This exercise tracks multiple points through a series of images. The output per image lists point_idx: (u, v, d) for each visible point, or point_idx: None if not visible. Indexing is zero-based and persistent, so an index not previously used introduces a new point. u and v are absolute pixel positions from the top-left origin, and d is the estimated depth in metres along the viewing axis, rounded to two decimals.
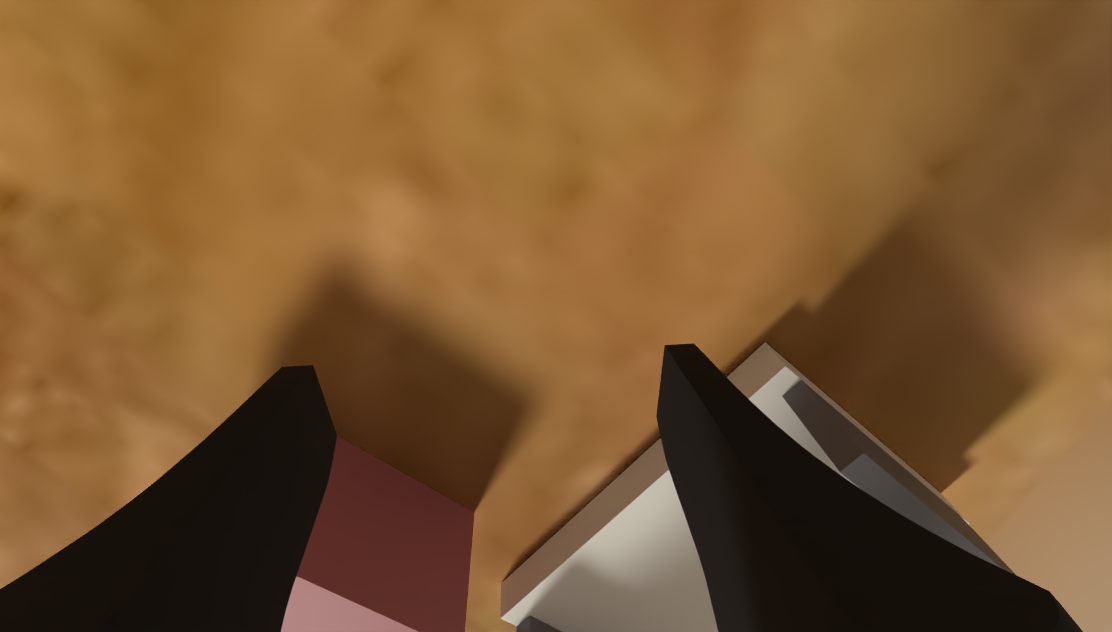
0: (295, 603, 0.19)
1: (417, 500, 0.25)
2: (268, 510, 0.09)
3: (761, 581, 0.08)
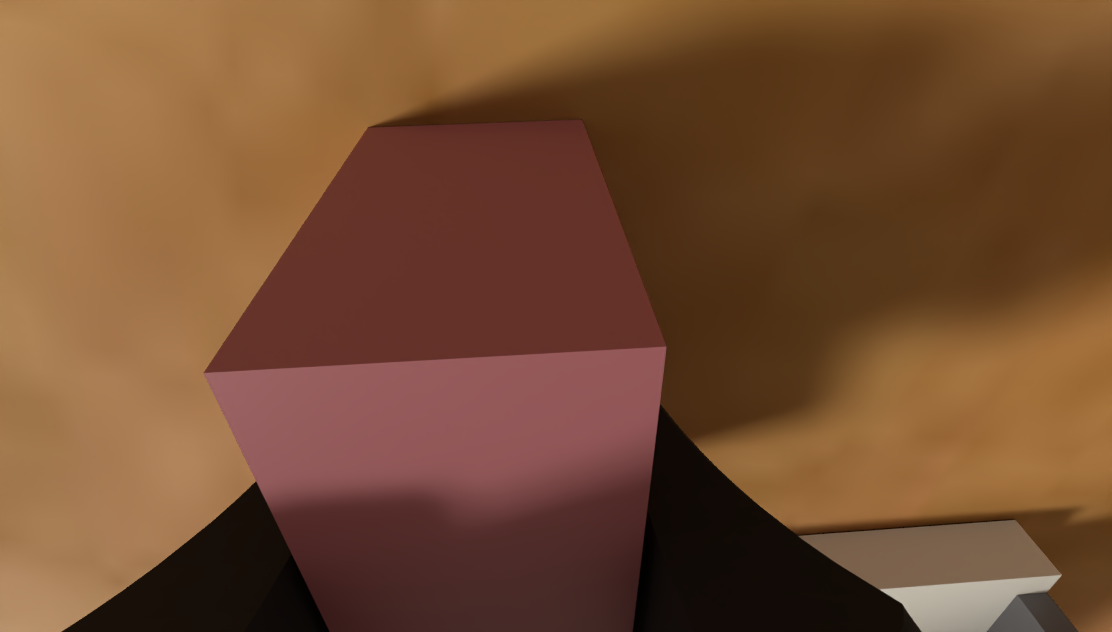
0: (547, 591, 0.07)
1: None
2: None
3: (648, 590, 0.08)
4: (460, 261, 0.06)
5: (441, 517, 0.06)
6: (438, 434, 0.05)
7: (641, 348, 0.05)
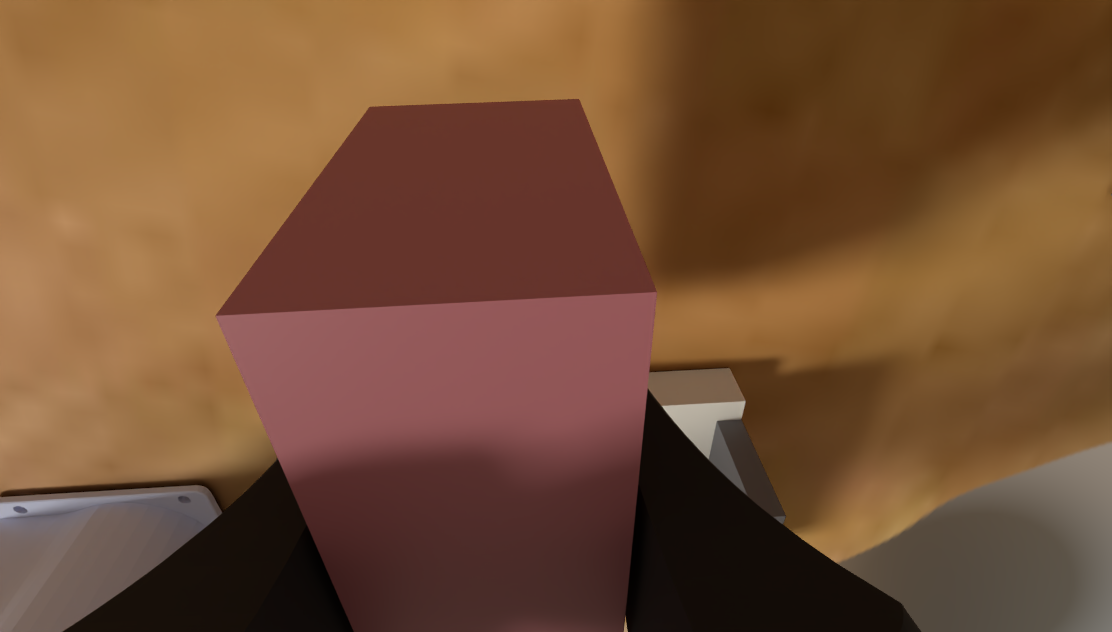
0: (544, 545, 0.07)
1: None
2: None
3: (648, 589, 0.08)
4: (459, 221, 0.07)
5: (441, 467, 0.06)
6: (439, 380, 0.06)
7: (632, 294, 0.05)
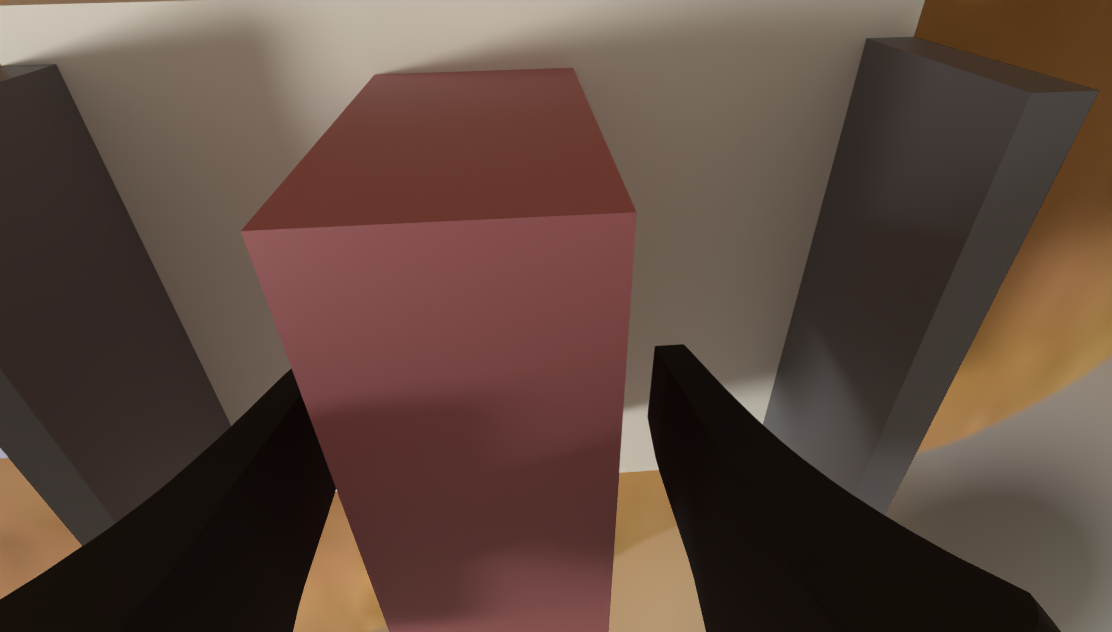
0: (538, 467, 0.08)
1: None
2: (281, 509, 0.09)
3: (746, 582, 0.08)
4: (459, 161, 0.07)
5: (443, 385, 0.07)
6: (440, 297, 0.06)
7: (615, 214, 0.06)
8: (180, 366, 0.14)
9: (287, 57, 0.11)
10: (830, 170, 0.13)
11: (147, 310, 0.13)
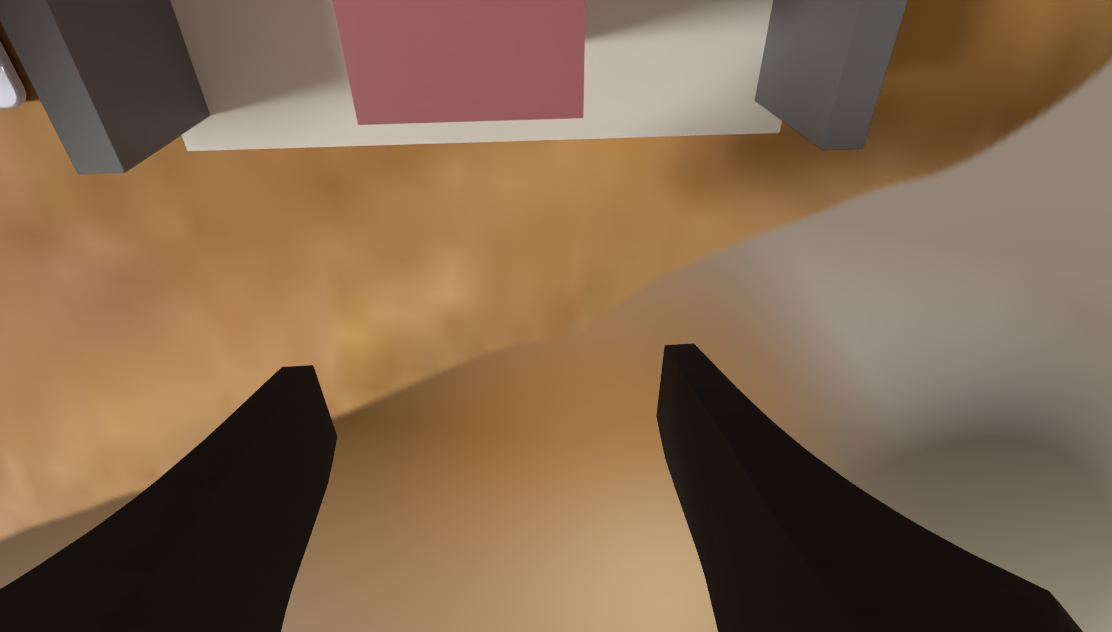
0: None
1: None
2: (268, 510, 0.09)
3: (761, 581, 0.08)
4: None
5: None
6: None
7: None
8: None
9: None
10: None
11: None
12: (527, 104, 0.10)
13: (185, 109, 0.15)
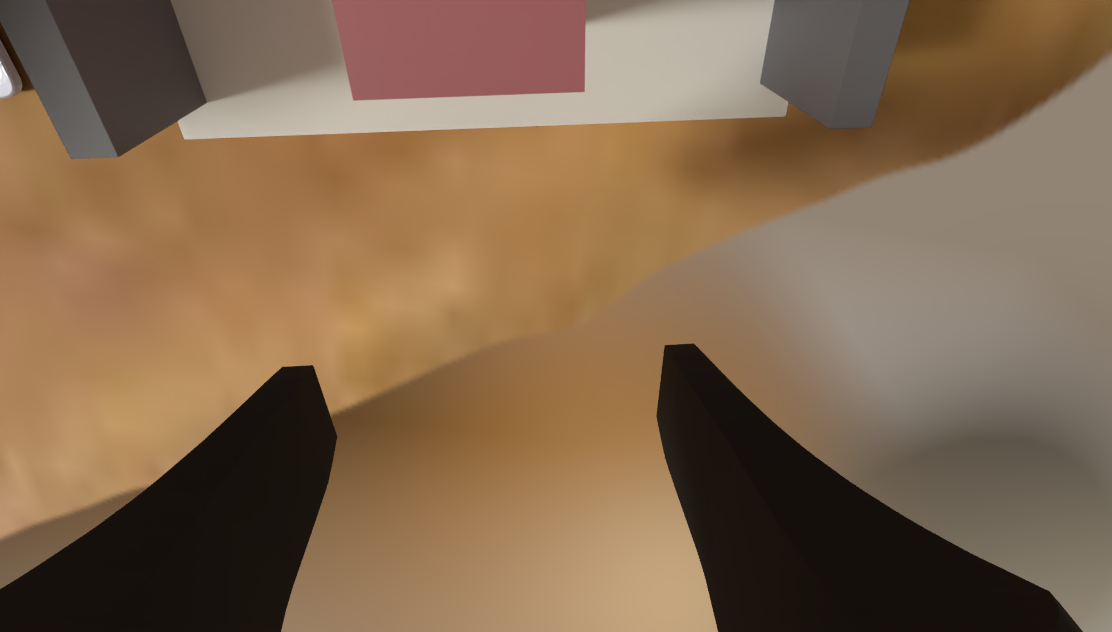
0: None
1: None
2: (268, 510, 0.09)
3: (761, 581, 0.08)
4: None
5: None
6: None
7: None
8: None
9: None
10: None
11: None
12: (526, 78, 0.10)
13: (181, 95, 0.15)
